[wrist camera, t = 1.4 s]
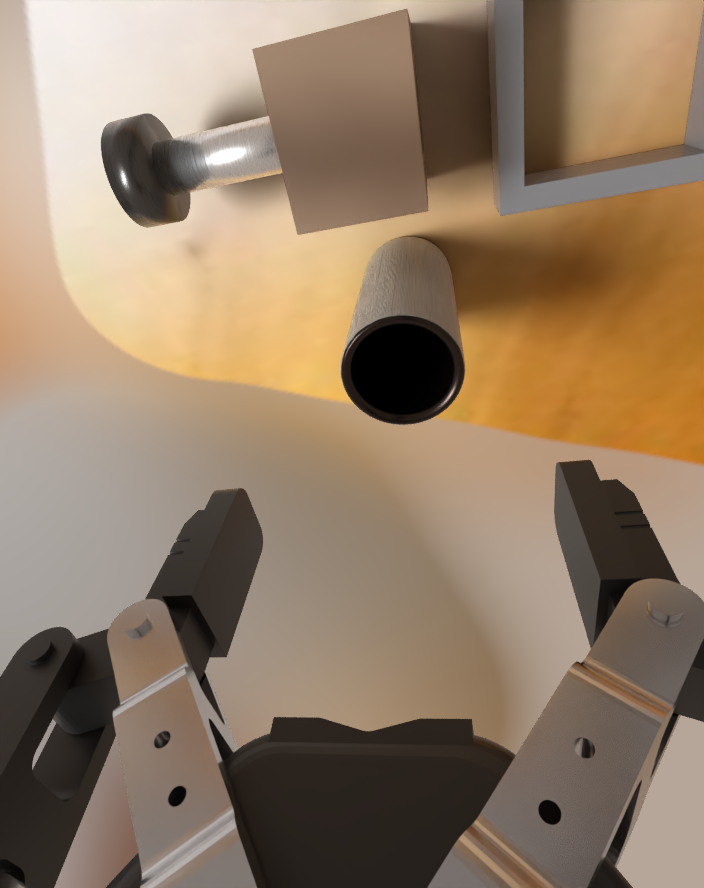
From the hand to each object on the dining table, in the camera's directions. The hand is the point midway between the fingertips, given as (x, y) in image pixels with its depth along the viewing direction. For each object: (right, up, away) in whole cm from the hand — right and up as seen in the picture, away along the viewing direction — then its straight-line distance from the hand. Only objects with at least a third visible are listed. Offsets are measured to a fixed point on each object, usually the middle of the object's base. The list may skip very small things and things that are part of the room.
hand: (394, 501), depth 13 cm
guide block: (-1, +16, +10) cm, 19 cm away
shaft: (-5, +14, +9) cm, 18 cm away
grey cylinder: (+2, +10, +14) cm, 17 cm away
